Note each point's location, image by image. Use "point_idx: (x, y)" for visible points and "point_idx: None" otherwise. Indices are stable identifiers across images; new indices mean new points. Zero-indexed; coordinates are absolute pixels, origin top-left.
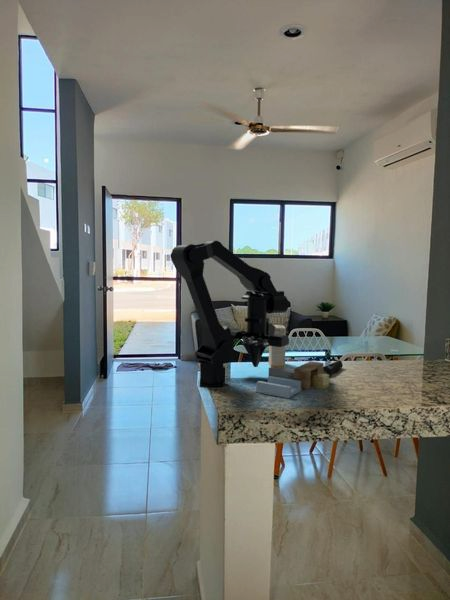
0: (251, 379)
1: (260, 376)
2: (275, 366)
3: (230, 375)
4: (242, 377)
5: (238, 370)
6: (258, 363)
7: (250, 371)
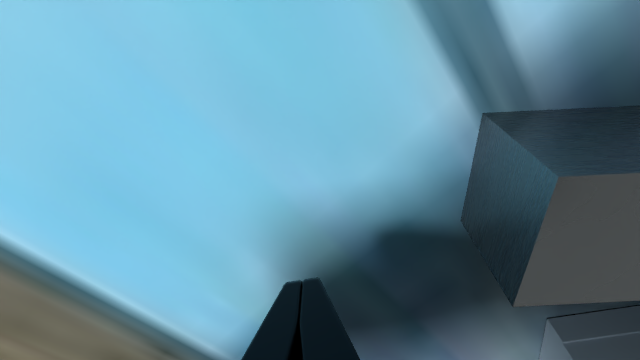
0: (352, 302)
1: (345, 197)
2: (566, 207)
3: (159, 325)
4: (263, 307)
5: (12, 178)
6: (333, 309)
7: (116, 117)
